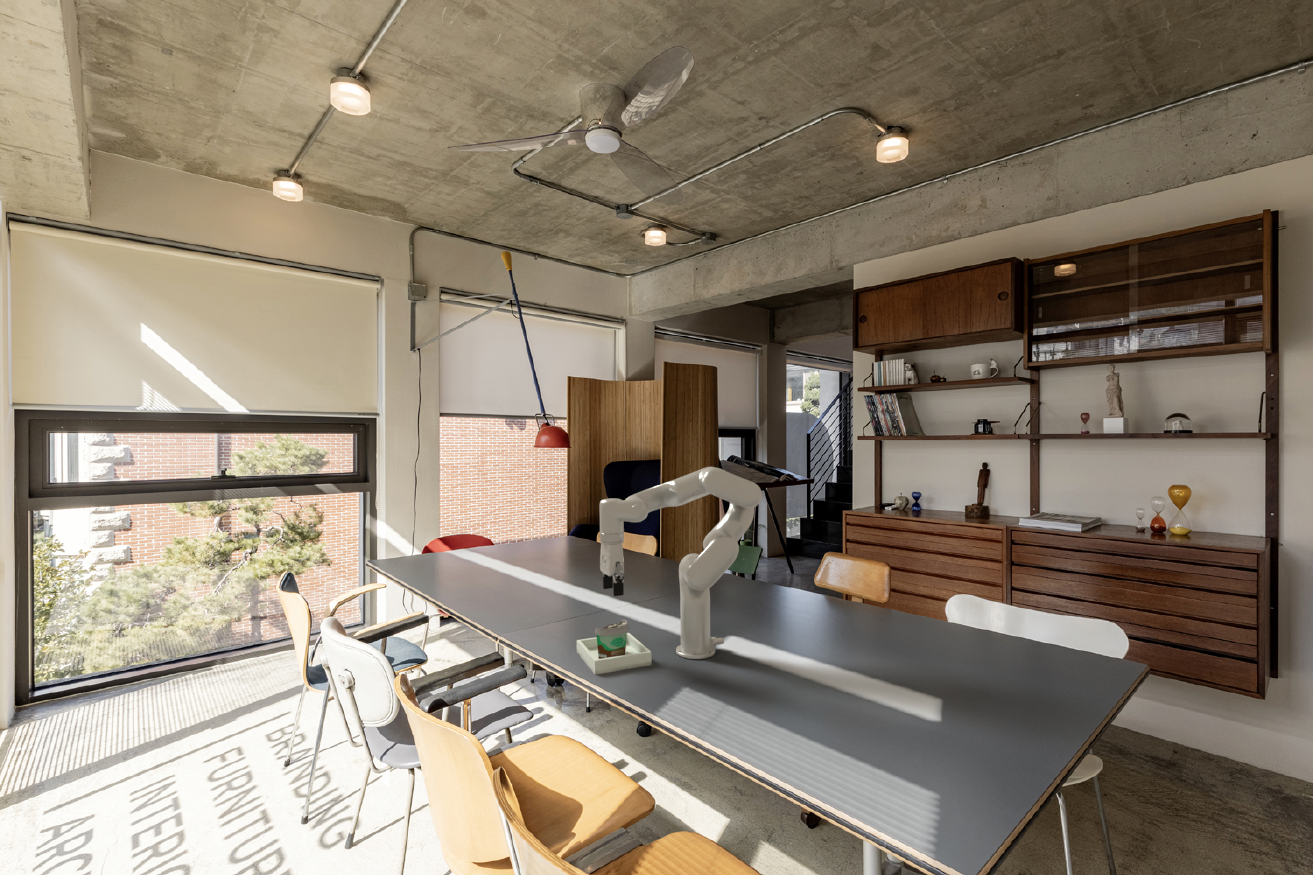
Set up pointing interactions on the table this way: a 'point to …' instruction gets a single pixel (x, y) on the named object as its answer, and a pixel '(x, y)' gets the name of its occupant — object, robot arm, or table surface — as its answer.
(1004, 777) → the table surface
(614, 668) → the tray
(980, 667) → the table surface
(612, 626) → the food container
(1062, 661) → the table surface
